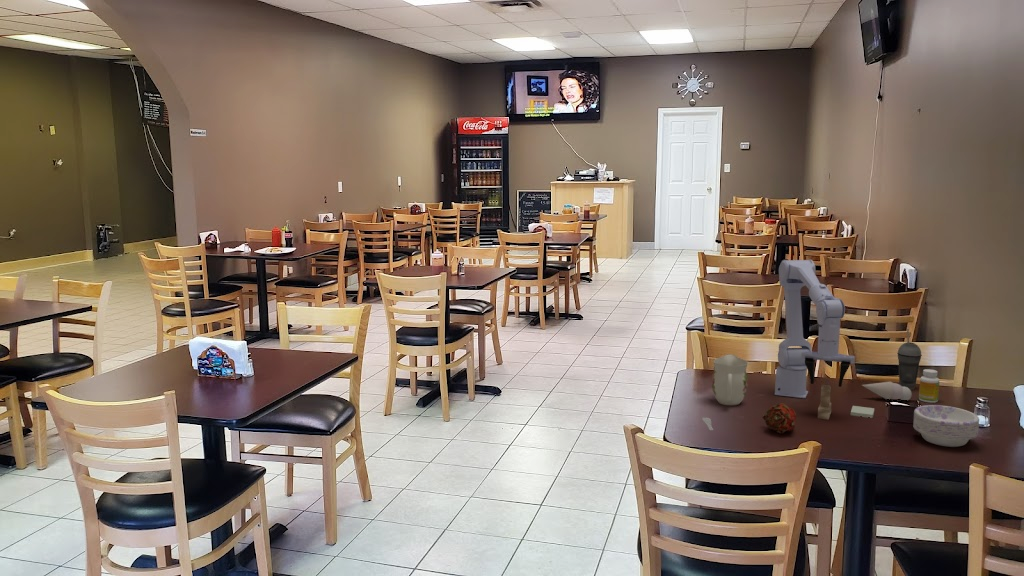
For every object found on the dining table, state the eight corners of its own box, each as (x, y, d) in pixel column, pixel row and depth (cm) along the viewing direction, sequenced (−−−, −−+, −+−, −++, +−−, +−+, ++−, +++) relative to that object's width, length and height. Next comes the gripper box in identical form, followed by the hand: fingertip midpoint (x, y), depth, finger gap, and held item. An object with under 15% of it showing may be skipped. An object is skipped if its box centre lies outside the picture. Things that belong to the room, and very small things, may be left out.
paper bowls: (950, 455, 196) (953, 425, 195) (899, 436, 210) (901, 408, 209) (990, 446, 202) (992, 417, 201) (938, 429, 216) (940, 401, 215)
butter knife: (711, 417, 228) (701, 417, 228) (724, 445, 204) (713, 445, 204) (711, 419, 228) (700, 418, 228) (724, 447, 204) (713, 446, 204)
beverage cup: (909, 392, 252) (914, 332, 249) (890, 386, 258) (894, 328, 256) (924, 389, 255) (928, 330, 252) (904, 383, 262) (908, 326, 259)
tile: (850, 411, 229) (872, 414, 226) (852, 405, 235) (874, 408, 232) (850, 416, 229) (872, 419, 226) (852, 410, 235) (874, 413, 232)
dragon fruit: (780, 443, 210) (773, 435, 221) (806, 427, 208) (799, 419, 220) (761, 417, 211) (756, 411, 222) (788, 400, 209) (781, 395, 221)
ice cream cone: (857, 397, 246) (907, 407, 243) (863, 390, 241) (914, 400, 238) (858, 380, 249) (908, 390, 246) (864, 372, 244) (915, 382, 241)
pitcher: (710, 410, 235) (711, 366, 233) (711, 394, 252) (713, 353, 250) (747, 413, 232) (749, 368, 230) (746, 396, 249) (748, 355, 247)
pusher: (817, 418, 226) (819, 388, 225) (820, 410, 233) (821, 382, 232) (828, 419, 225) (830, 390, 224) (830, 412, 232) (832, 383, 231)
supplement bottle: (937, 403, 239) (940, 373, 238) (918, 401, 242) (920, 371, 240) (938, 399, 244) (940, 369, 242) (918, 397, 246) (921, 367, 245)
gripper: (800, 340, 226) (798, 384, 228) (854, 344, 219) (851, 390, 221) (803, 335, 232) (801, 379, 234) (856, 340, 225) (853, 384, 227)
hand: (826, 384), depth 228 cm, fingers open, 7 cm apart
